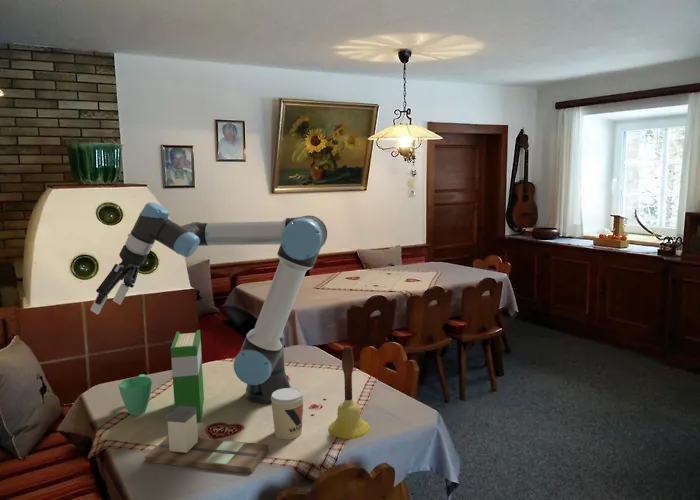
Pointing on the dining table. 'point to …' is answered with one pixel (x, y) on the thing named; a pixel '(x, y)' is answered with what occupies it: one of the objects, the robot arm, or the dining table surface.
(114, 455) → the dining table surface
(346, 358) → the handbell
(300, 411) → the coffee cup
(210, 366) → the dining table surface
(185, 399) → the hardback book
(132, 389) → the mug
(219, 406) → the dining table surface
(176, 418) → the fader knob
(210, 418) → the dining table surface
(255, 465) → the fader track
